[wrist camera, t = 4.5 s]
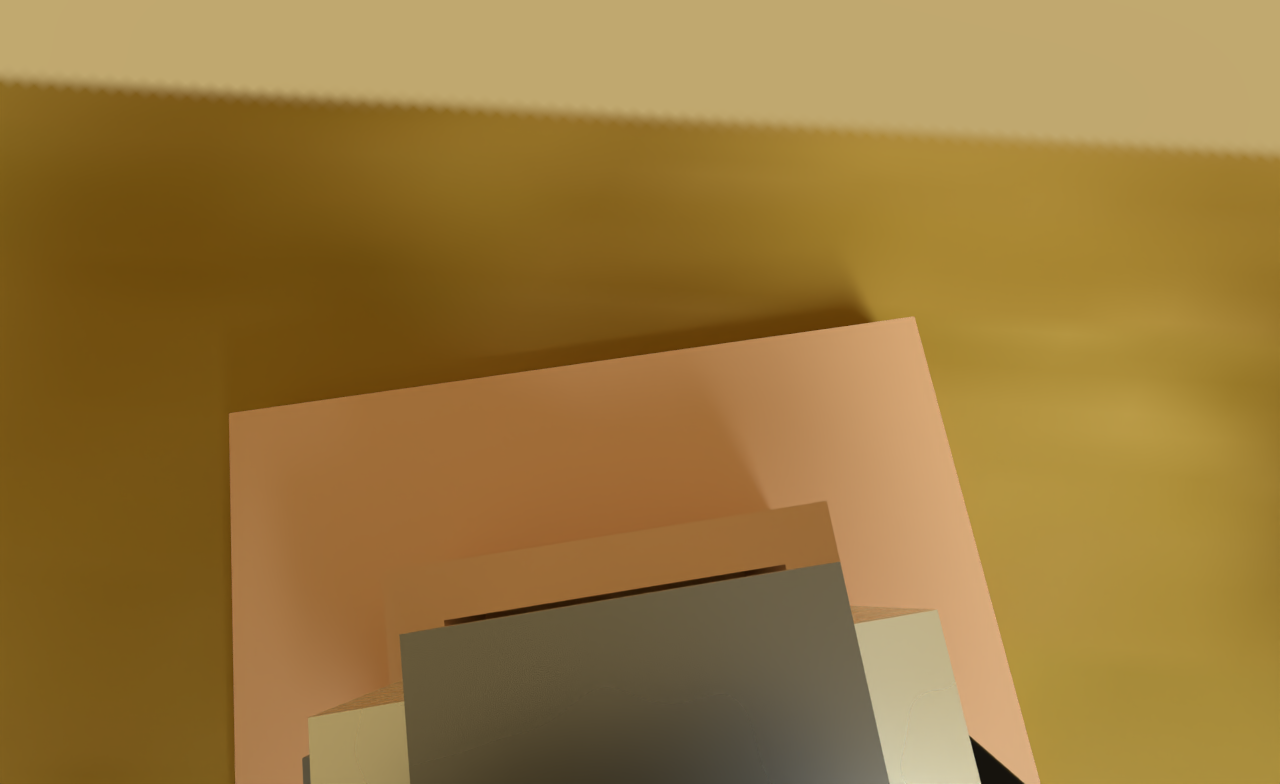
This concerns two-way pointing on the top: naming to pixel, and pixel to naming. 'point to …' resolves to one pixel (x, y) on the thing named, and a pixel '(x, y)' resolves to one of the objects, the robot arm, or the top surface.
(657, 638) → the column
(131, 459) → the top surface
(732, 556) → the stand
